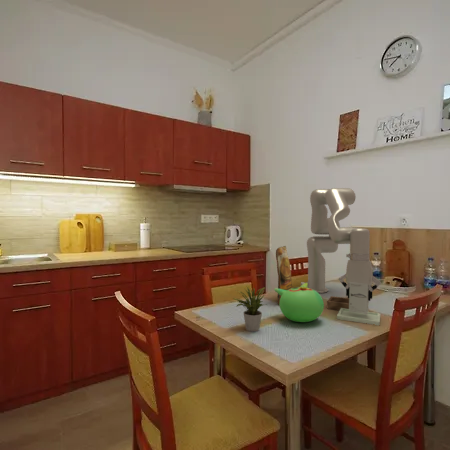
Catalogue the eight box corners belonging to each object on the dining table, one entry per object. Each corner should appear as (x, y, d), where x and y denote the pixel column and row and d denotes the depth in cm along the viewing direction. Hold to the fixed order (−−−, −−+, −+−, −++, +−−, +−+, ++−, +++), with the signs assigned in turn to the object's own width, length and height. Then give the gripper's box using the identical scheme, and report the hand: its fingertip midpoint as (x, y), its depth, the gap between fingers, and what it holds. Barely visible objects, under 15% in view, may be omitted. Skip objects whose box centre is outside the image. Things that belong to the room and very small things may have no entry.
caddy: (327, 308, 142) (327, 301, 142) (330, 303, 151) (331, 296, 151) (351, 312, 137) (351, 304, 137) (353, 306, 146) (353, 298, 146)
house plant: (249, 318, 127) (249, 280, 127) (278, 326, 119) (278, 285, 118) (227, 328, 116) (227, 286, 116) (258, 337, 108) (258, 292, 107)
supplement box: (348, 312, 127) (348, 282, 127) (350, 308, 134) (350, 279, 134) (367, 315, 123) (368, 283, 124) (368, 310, 130) (369, 281, 130)
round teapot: (290, 329, 115) (290, 291, 115) (272, 315, 131) (272, 282, 131) (331, 325, 120) (332, 288, 120) (308, 312, 136) (309, 279, 136)
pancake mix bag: (270, 305, 147) (271, 247, 147) (284, 296, 164) (285, 244, 163) (284, 307, 144) (284, 248, 143) (297, 298, 160) (297, 245, 159)
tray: (336, 318, 127) (336, 315, 127) (340, 311, 138) (340, 307, 138) (379, 325, 120) (379, 321, 120) (380, 316, 130) (380, 313, 130)
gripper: (336, 257, 129) (336, 298, 130) (382, 260, 121) (381, 304, 121) (339, 255, 136) (338, 294, 136) (382, 257, 127) (382, 299, 128)
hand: (359, 298), depth 129 cm, fingers closed on supplement box, 7 cm apart
